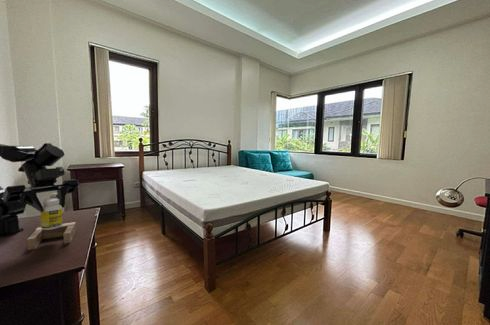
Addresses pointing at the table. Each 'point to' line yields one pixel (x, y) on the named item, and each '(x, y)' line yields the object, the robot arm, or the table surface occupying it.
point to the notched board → (52, 234)
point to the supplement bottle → (51, 214)
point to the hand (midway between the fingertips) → (53, 209)
